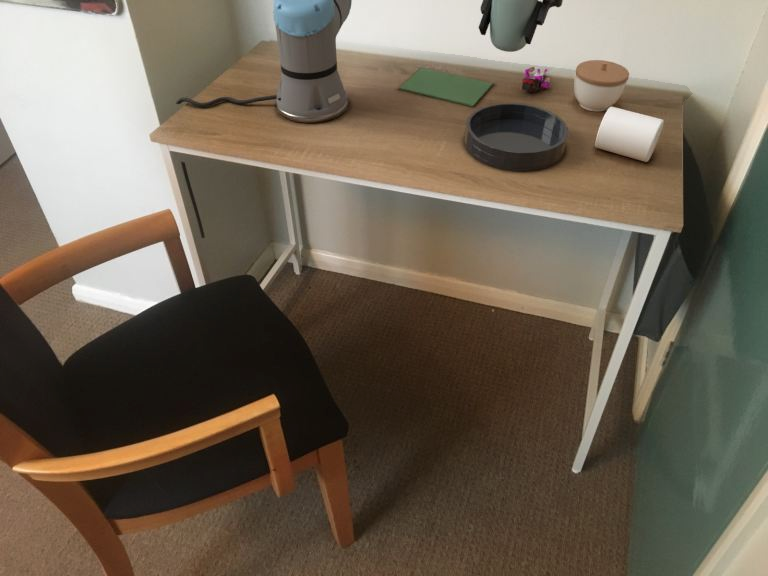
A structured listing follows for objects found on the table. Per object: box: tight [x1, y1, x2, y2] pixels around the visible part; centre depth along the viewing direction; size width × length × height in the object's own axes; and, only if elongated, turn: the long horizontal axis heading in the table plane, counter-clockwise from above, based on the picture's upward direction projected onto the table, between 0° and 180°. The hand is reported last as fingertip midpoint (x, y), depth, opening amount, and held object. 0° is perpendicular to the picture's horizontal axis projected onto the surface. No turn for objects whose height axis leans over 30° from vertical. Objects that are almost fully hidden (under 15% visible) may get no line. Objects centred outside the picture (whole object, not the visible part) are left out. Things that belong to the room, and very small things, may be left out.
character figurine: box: [521, 66, 551, 93], centre depth 137 cm, size 6×5×12 cm
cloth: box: [398, 67, 494, 107], centre depth 138 cm, size 18×12×1 cm, turn 62°
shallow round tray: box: [464, 102, 569, 172], centre depth 119 cm, size 19×19×4 cm
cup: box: [489, 0, 539, 53], centre depth 109 cm, size 8×8×10 cm
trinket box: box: [573, 59, 630, 113], centre depth 129 cm, size 11×11×9 cm
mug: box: [594, 106, 665, 163], centre depth 117 cm, size 12×10×8 cm
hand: (504, 35), depth 108 cm, fingers closed on cup, 8 cm apart
